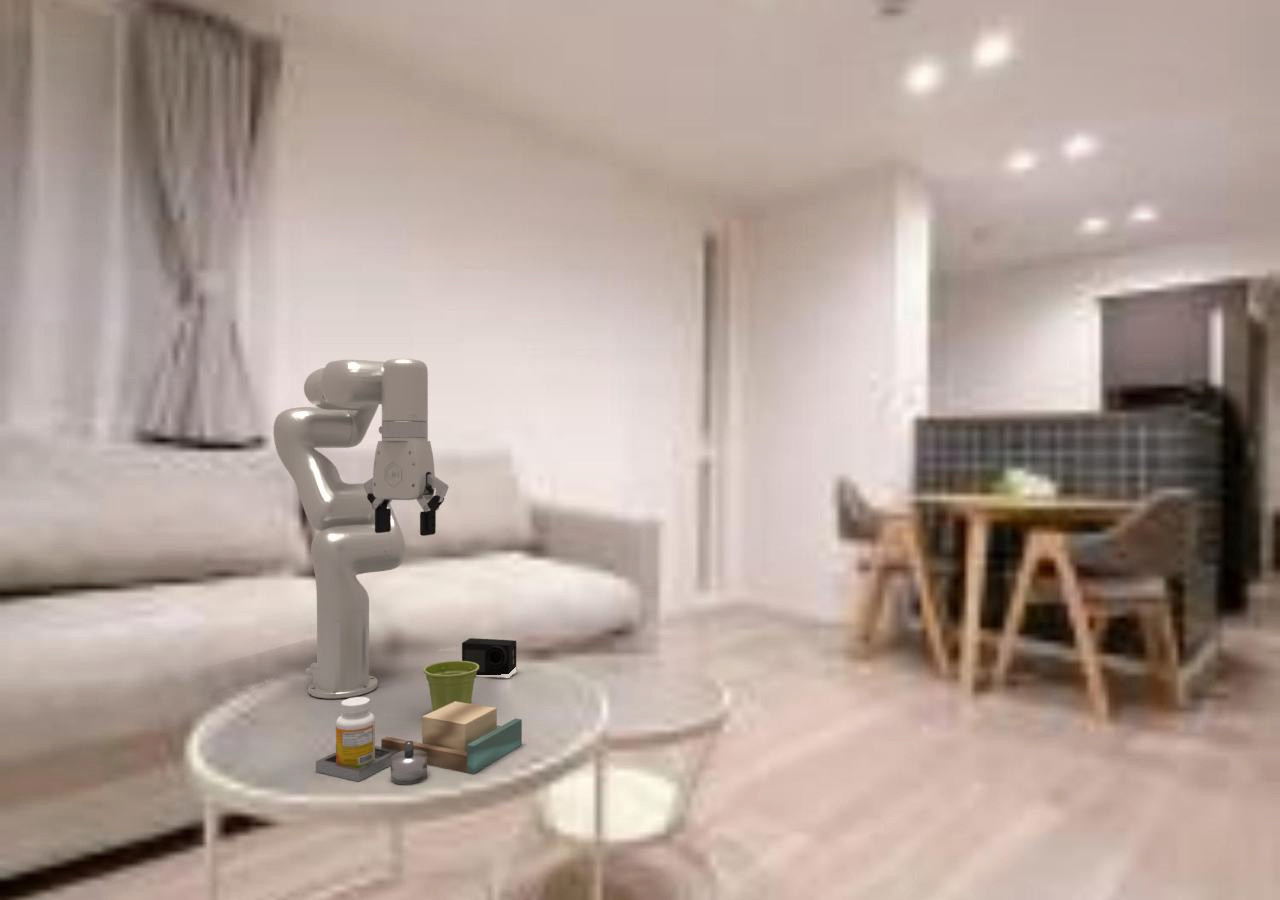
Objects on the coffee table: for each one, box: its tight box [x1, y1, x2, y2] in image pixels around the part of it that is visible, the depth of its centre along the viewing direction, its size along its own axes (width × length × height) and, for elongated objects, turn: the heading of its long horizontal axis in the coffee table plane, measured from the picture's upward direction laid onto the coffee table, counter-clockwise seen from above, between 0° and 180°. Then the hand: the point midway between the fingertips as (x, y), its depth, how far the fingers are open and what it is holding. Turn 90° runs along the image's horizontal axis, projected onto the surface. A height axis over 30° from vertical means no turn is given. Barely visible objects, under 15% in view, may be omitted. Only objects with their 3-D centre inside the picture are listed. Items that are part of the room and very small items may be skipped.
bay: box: [380, 701, 523, 775], centre depth 123 cm, size 17×12×6 cm
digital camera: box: [461, 637, 517, 675], centre depth 164 cm, size 10×5×7 cm, turn 78°
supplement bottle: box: [335, 696, 376, 768], centre depth 117 cm, size 5×5×10 cm
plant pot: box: [423, 660, 479, 712], centre depth 138 cm, size 9×9×9 cm
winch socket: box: [315, 740, 428, 786], centre depth 115 cm, size 16×8×5 cm, turn 65°
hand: (405, 533), depth 135 cm, fingers open, 9 cm apart
